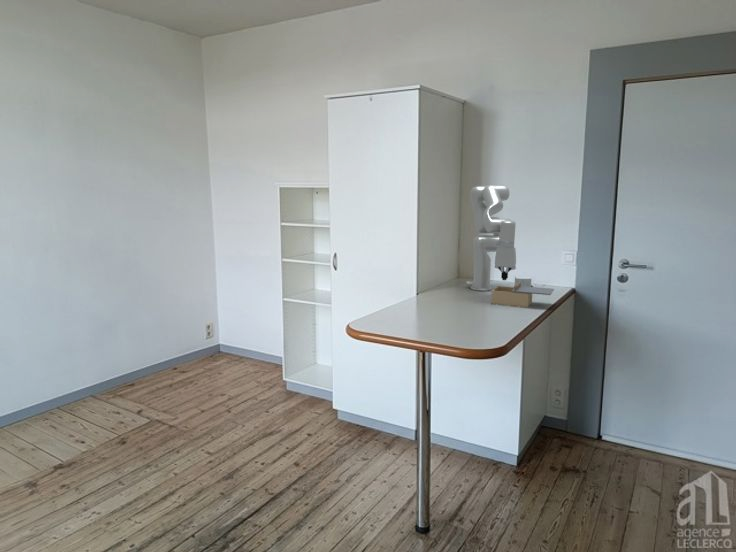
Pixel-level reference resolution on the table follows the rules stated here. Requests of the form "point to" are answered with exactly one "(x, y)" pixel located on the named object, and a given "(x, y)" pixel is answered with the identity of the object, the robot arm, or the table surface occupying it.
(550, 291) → the lid
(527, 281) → the small box
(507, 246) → the robot arm
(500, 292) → the tray
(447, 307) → the table surface
